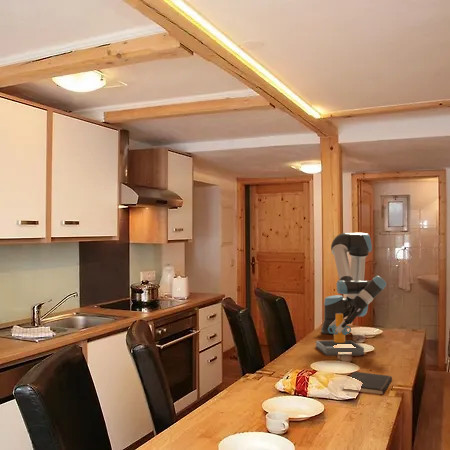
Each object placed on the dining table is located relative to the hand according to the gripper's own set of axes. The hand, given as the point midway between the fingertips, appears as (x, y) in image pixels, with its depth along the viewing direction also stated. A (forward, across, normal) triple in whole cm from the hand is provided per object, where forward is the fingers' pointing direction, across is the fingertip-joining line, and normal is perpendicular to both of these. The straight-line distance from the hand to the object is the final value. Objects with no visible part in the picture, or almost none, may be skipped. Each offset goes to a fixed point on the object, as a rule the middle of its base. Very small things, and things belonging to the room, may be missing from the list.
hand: (334, 329), depth 279 cm
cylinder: (+3, 0, -7) cm, 7 cm away
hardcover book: (+12, -62, -6) cm, 64 cm away
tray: (+6, 0, -10) cm, 12 cm away
